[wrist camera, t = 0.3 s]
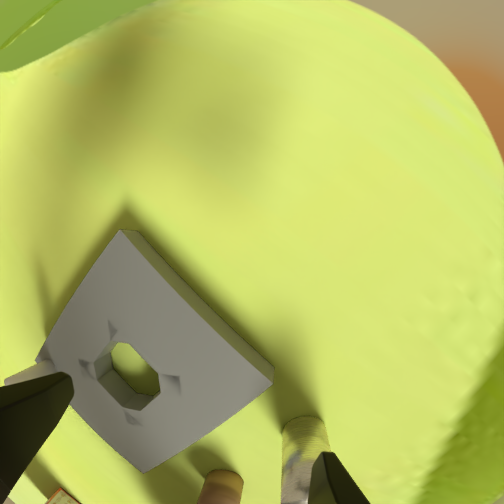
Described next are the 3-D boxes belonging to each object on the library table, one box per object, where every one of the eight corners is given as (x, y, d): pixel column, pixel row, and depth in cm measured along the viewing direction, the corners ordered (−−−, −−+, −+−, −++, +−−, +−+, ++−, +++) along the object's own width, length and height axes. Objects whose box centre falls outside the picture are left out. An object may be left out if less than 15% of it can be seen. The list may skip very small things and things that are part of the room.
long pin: (302, 453, 22) (306, 521, 13) (273, 433, 22) (268, 502, 13) (334, 430, 22) (351, 497, 13) (306, 408, 22) (315, 478, 13)
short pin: (226, 495, 23) (218, 525, 18) (199, 477, 23) (187, 507, 18) (251, 482, 23) (246, 515, 18) (223, 464, 23) (213, 497, 18)
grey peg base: (153, 457, 24) (120, 510, 15) (52, 352, 24) (-4, 378, 15) (274, 367, 22) (270, 431, 13) (137, 230, 23) (69, 224, 14)
